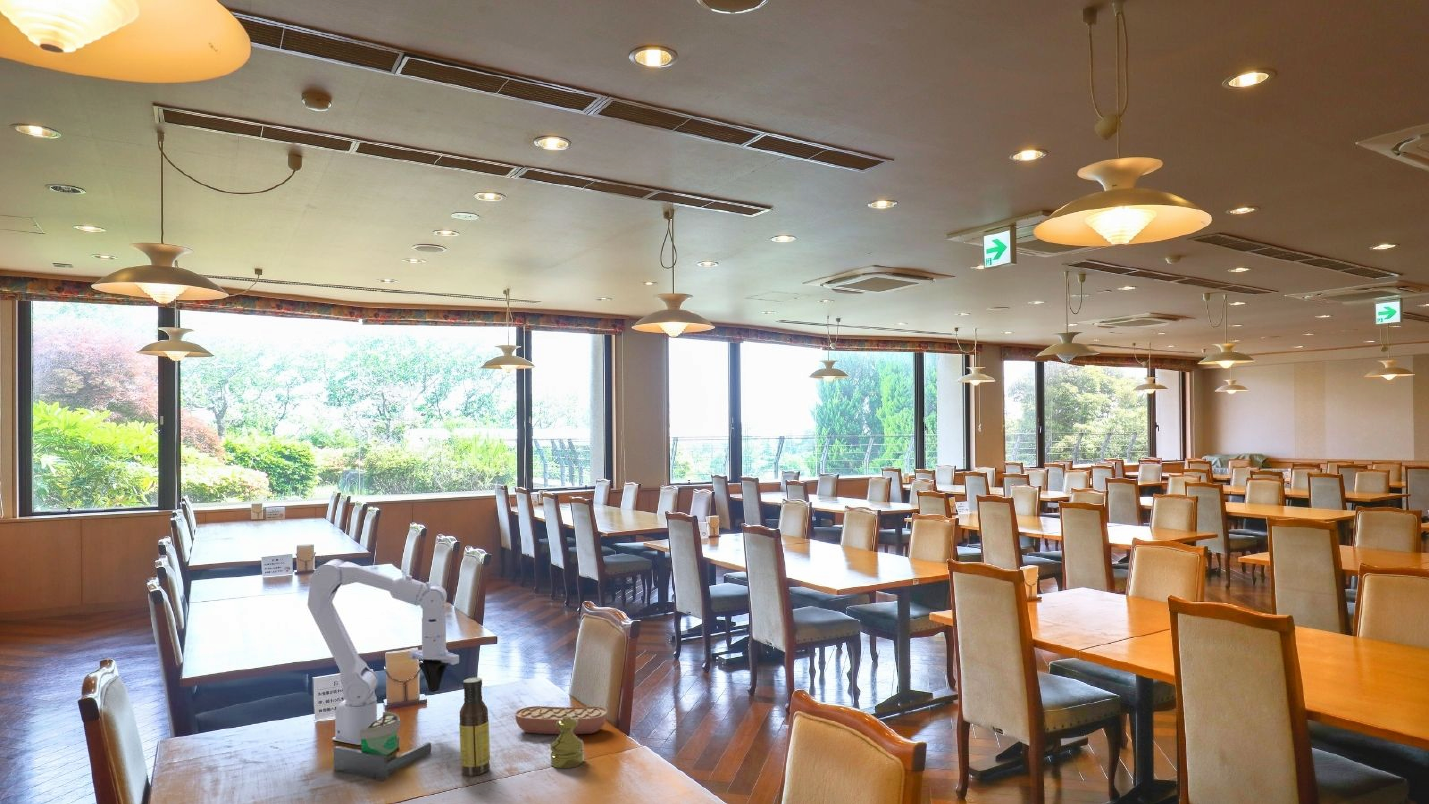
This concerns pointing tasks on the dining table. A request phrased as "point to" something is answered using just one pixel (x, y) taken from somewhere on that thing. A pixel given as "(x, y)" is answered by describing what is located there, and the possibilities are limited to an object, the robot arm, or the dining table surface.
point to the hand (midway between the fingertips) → (434, 690)
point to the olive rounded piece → (567, 745)
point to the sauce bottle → (474, 730)
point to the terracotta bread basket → (546, 718)
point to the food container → (382, 735)
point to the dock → (375, 761)
